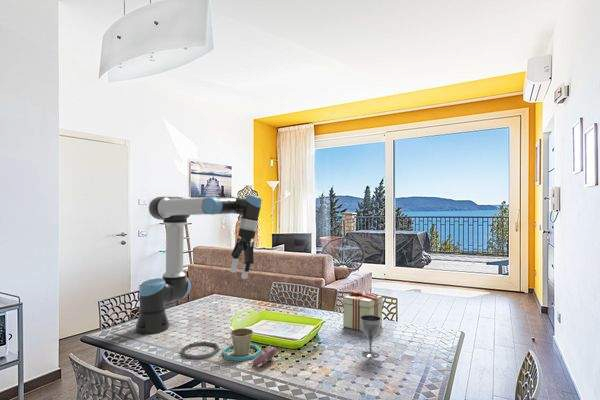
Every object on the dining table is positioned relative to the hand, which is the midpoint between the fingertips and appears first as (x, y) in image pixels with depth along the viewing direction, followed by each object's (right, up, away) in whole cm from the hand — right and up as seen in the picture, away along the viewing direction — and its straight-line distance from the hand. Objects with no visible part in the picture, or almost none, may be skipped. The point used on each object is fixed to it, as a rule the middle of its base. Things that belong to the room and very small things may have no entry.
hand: (238, 275), depth 168 cm
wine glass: (+57, -29, -16) cm, 66 cm away
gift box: (+59, -29, +19) cm, 69 cm away
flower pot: (+4, -29, -15) cm, 33 cm away
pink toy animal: (+14, -29, -24) cm, 40 cm away
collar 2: (+4, -29, -15) cm, 33 cm away
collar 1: (-14, -29, -13) cm, 35 cm away
